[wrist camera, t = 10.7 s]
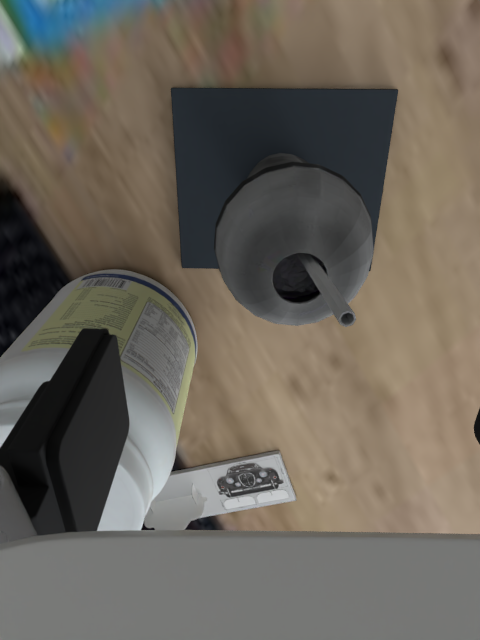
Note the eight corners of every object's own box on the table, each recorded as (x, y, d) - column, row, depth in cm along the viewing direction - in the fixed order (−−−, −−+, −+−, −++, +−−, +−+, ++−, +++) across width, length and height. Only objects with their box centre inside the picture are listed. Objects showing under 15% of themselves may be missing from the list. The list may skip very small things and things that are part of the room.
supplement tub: (121, 412, 42) (46, 602, 27) (20, 315, 37) (-138, 479, 22) (229, 349, 38) (212, 528, 23) (131, 232, 33) (32, 363, 19)
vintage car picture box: (159, 521, 49) (150, 561, 45) (134, 479, 46) (122, 517, 42) (296, 496, 46) (299, 536, 42) (279, 450, 43) (281, 488, 39)
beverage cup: (205, 179, 31) (138, 324, 13) (292, 104, 28) (349, 160, 11) (271, 258, 33) (287, 466, 16) (355, 195, 31) (485, 358, 14)
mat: (182, 265, 34) (181, 268, 34) (172, 87, 29) (171, 88, 28) (368, 268, 34) (370, 271, 34) (396, 89, 28) (398, 89, 28)
